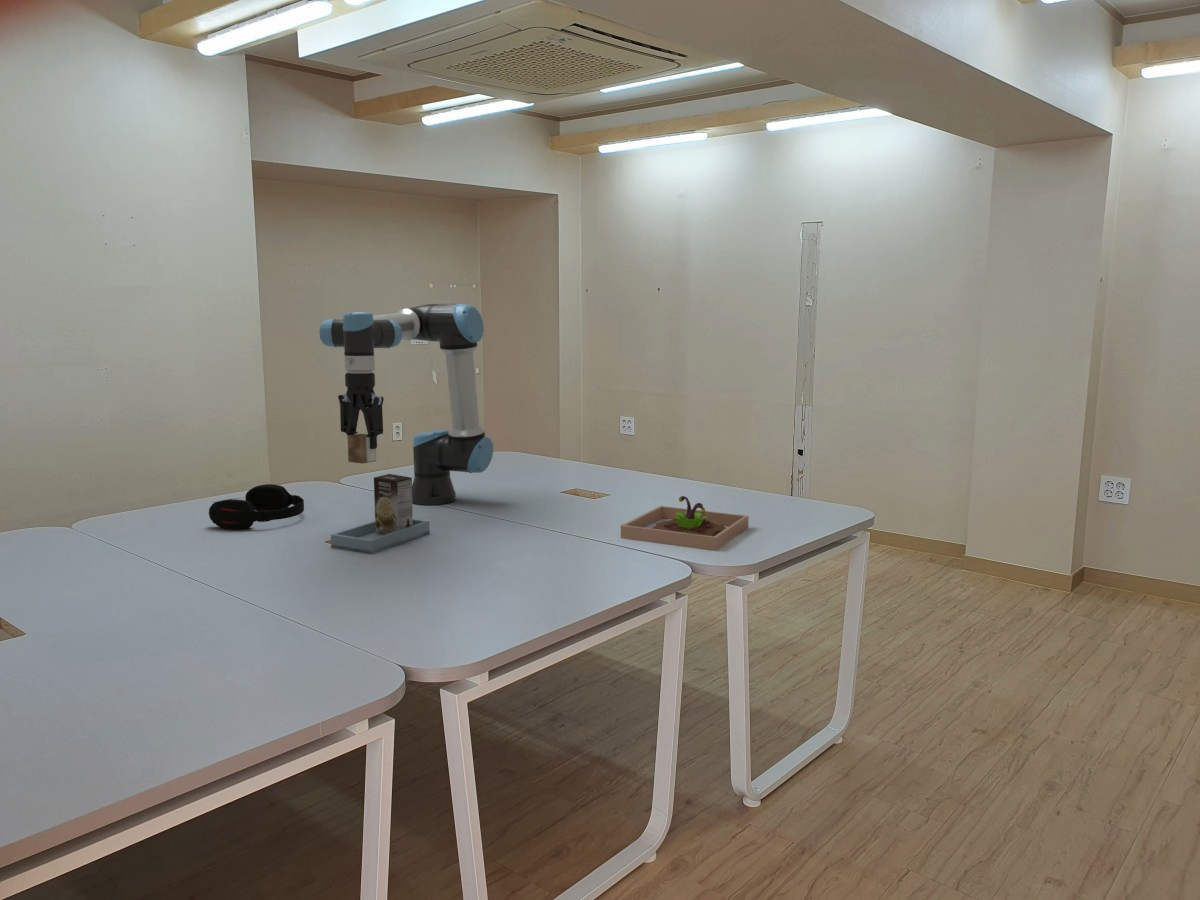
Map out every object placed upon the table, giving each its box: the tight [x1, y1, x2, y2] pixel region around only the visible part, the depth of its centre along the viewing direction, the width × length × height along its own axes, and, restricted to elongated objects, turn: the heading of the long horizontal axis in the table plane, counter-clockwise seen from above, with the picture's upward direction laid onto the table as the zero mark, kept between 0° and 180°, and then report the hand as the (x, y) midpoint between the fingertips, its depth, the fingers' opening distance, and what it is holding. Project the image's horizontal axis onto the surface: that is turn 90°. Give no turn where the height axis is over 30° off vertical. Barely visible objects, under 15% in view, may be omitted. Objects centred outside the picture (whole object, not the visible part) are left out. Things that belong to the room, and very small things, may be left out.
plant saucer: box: [620, 505, 749, 551], centre depth 249 cm, size 28×28×4 cm
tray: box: [330, 518, 431, 555], centre depth 240 cm, size 14×24×4 cm, turn 153°
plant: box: [651, 496, 727, 536], centre depth 247 cm, size 20×20×11 cm
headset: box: [208, 483, 305, 531], centre depth 263 cm, size 28×26×9 cm
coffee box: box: [373, 473, 414, 535], centre depth 243 cm, size 9×6×16 cm
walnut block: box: [347, 433, 377, 464], centre depth 230 cm, size 5×5×7 cm
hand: (362, 459), depth 231 cm, fingers closed on walnut block, 5 cm apart
